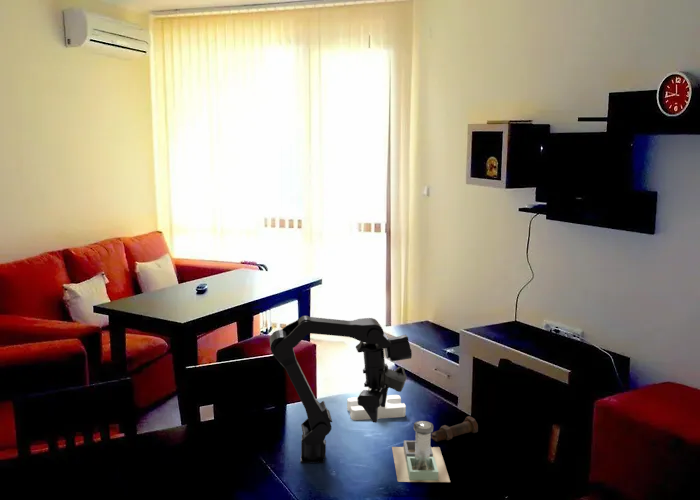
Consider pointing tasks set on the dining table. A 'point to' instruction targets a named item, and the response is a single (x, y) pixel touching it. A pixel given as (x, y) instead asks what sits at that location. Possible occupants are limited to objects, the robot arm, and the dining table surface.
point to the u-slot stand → (389, 411)
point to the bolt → (455, 430)
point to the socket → (422, 473)
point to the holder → (411, 446)
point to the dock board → (402, 467)
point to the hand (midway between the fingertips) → (379, 414)
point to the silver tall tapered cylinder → (422, 444)
